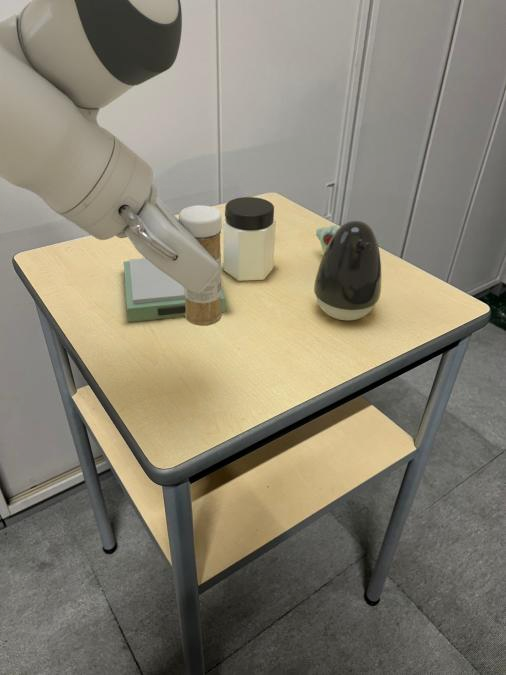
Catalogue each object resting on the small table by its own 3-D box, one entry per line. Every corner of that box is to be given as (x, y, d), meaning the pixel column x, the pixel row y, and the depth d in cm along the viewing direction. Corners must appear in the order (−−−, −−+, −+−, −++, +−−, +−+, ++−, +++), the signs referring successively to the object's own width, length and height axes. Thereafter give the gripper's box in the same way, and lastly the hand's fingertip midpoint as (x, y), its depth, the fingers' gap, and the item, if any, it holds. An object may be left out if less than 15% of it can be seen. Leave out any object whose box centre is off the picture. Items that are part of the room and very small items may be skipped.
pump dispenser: (321, 332, 78) (333, 240, 69) (304, 296, 86) (313, 209, 77) (386, 327, 79) (406, 236, 70) (363, 292, 87) (378, 206, 78)
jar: (237, 254, 97) (238, 192, 90) (278, 263, 95) (282, 200, 88) (216, 276, 90) (215, 211, 83) (259, 286, 88) (262, 220, 81)
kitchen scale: (128, 323, 78) (126, 305, 76) (125, 274, 90) (122, 257, 88) (226, 312, 81) (226, 295, 79) (210, 266, 93) (209, 249, 91)
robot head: (355, 261, 96) (360, 227, 92) (345, 270, 93) (350, 235, 89) (317, 249, 100) (321, 216, 96) (306, 257, 97) (310, 223, 93)
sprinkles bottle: (194, 304, 65) (189, 201, 57) (228, 311, 64) (227, 207, 56) (178, 323, 61) (170, 216, 54) (213, 331, 60) (211, 223, 52)
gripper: (164, 204, 41) (267, 284, 51) (103, 137, 56) (192, 209, 65) (116, 264, 42) (225, 332, 52) (69, 183, 57) (161, 248, 66)
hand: (206, 263), depth 59 cm, fingers closed on sprinkles bottle, 4 cm apart
